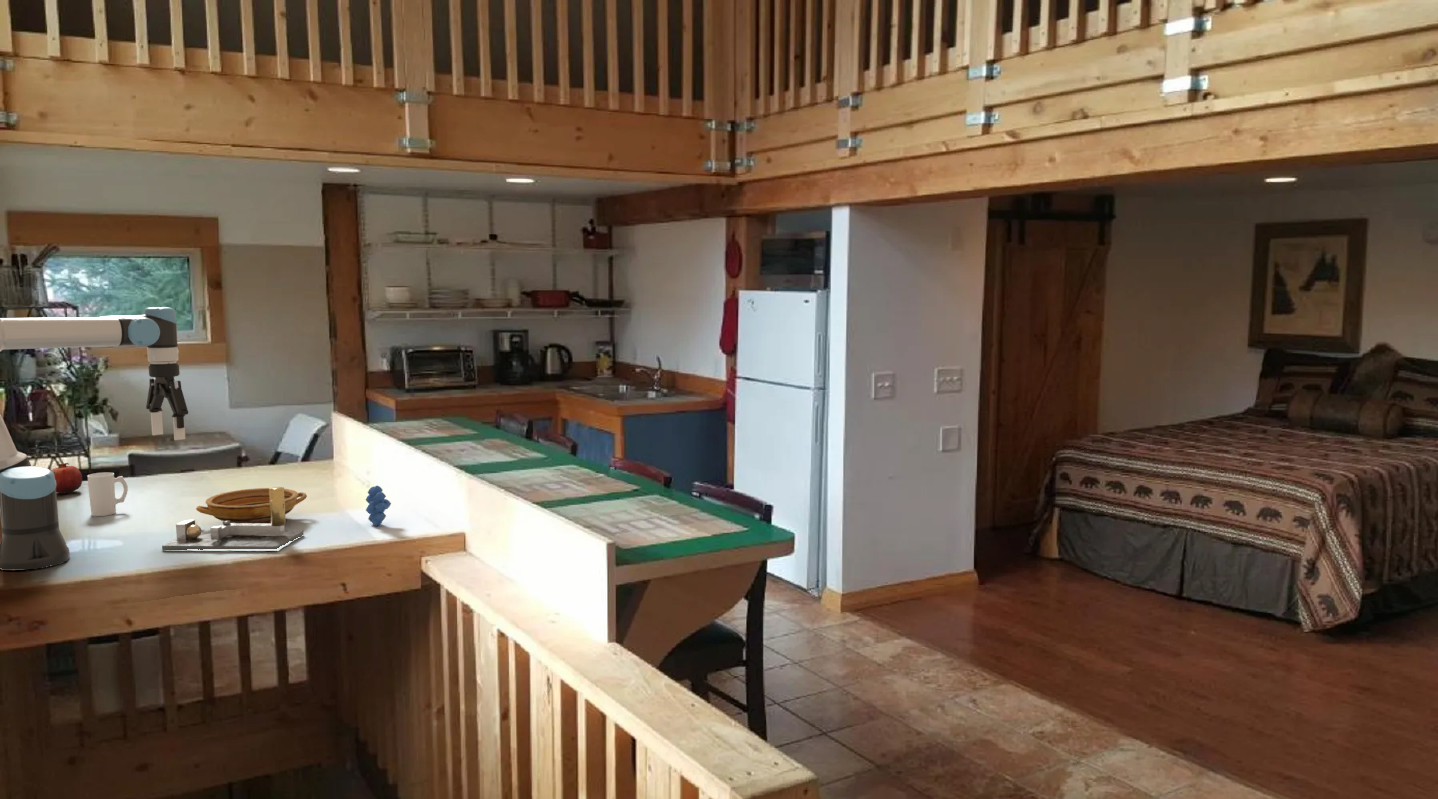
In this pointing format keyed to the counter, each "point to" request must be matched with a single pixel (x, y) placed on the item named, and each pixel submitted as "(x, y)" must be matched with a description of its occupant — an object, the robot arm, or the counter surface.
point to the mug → (104, 493)
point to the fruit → (67, 478)
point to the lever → (257, 528)
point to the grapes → (377, 505)
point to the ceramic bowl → (247, 505)
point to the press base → (224, 539)
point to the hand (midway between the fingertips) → (168, 437)
